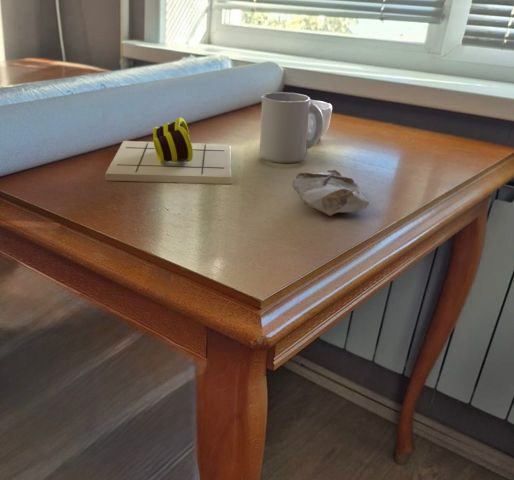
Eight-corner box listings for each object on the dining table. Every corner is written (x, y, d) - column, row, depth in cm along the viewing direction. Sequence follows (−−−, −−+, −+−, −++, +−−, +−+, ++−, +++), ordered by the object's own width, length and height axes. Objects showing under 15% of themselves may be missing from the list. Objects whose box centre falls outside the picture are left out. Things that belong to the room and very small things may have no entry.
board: (105, 180, 82) (105, 172, 82) (123, 147, 97) (123, 140, 96) (231, 184, 83) (231, 176, 83) (230, 150, 98) (230, 143, 97)
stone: (284, 188, 83) (285, 164, 81) (348, 187, 84) (351, 163, 83) (305, 221, 73) (308, 194, 71) (377, 218, 75) (381, 192, 73)
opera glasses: (158, 153, 94) (150, 120, 91) (191, 146, 94) (184, 113, 91) (159, 172, 86) (150, 136, 83) (196, 164, 86) (188, 129, 83)
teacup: (286, 130, 111) (289, 98, 108) (329, 132, 110) (332, 101, 107) (283, 144, 102) (285, 110, 99) (329, 147, 102) (332, 113, 99)
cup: (253, 151, 98) (255, 92, 93) (311, 149, 100) (316, 91, 95) (268, 164, 92) (271, 102, 87) (328, 161, 95) (335, 101, 90)
